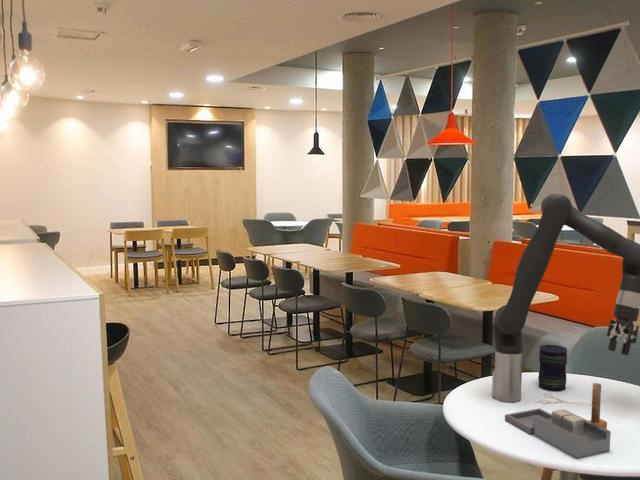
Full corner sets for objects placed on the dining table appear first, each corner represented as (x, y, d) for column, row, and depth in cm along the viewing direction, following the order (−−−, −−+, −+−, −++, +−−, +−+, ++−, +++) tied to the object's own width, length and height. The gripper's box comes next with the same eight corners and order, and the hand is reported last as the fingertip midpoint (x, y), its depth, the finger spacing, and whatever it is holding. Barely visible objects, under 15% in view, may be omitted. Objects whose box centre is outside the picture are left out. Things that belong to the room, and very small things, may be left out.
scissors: (539, 392, 229) (598, 401, 219) (539, 394, 229) (598, 403, 219) (533, 402, 220) (595, 411, 210) (533, 404, 220) (595, 414, 210)
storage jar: (571, 390, 231) (573, 351, 230) (547, 392, 229) (549, 352, 228) (556, 381, 241) (557, 343, 239) (532, 383, 239) (534, 345, 237)
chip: (562, 429, 187) (562, 416, 187) (572, 427, 188) (573, 414, 188) (572, 434, 183) (573, 421, 183) (583, 432, 185) (583, 419, 184)
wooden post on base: (583, 430, 196) (585, 384, 194) (599, 427, 198) (601, 381, 196) (590, 434, 193) (592, 387, 191) (606, 431, 195) (608, 384, 194)
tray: (505, 420, 204) (505, 414, 204) (539, 414, 209) (539, 408, 209) (530, 434, 193) (530, 428, 193) (565, 427, 198) (565, 421, 198)
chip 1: (551, 423, 191) (552, 411, 191) (561, 421, 193) (562, 409, 192) (561, 428, 187) (561, 416, 187) (571, 426, 189) (572, 413, 188)
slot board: (532, 434, 193) (532, 415, 193) (563, 427, 198) (564, 409, 197) (576, 458, 177) (577, 438, 176) (609, 451, 181) (610, 431, 181)
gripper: (606, 301, 217) (596, 347, 217) (628, 304, 203) (618, 353, 202) (627, 306, 218) (617, 351, 217) (650, 309, 203) (640, 358, 203)
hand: (617, 352), depth 210 cm, fingers open, 8 cm apart
